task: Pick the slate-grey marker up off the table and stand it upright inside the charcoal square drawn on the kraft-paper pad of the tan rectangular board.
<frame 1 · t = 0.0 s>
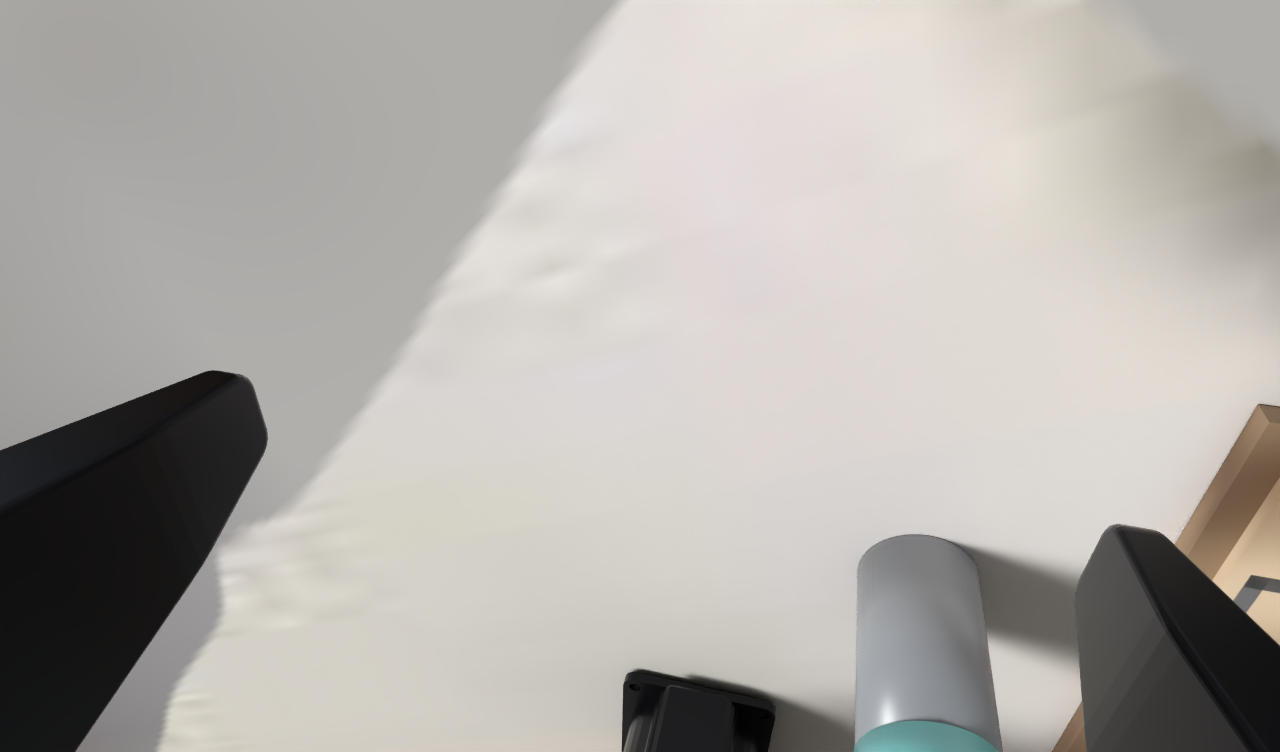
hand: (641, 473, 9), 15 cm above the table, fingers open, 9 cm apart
marker: (916, 575, 29), on the table
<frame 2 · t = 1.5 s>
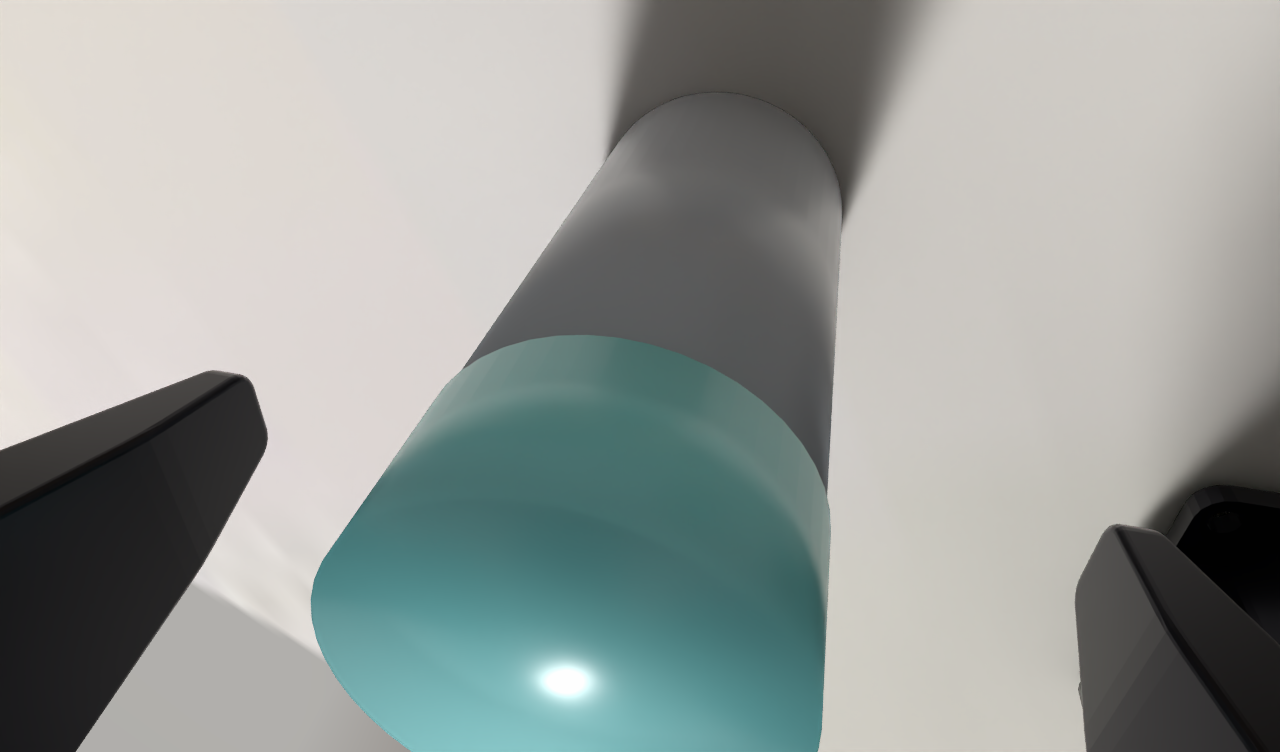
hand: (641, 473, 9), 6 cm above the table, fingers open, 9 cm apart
marker: (717, 214, 14), on the table
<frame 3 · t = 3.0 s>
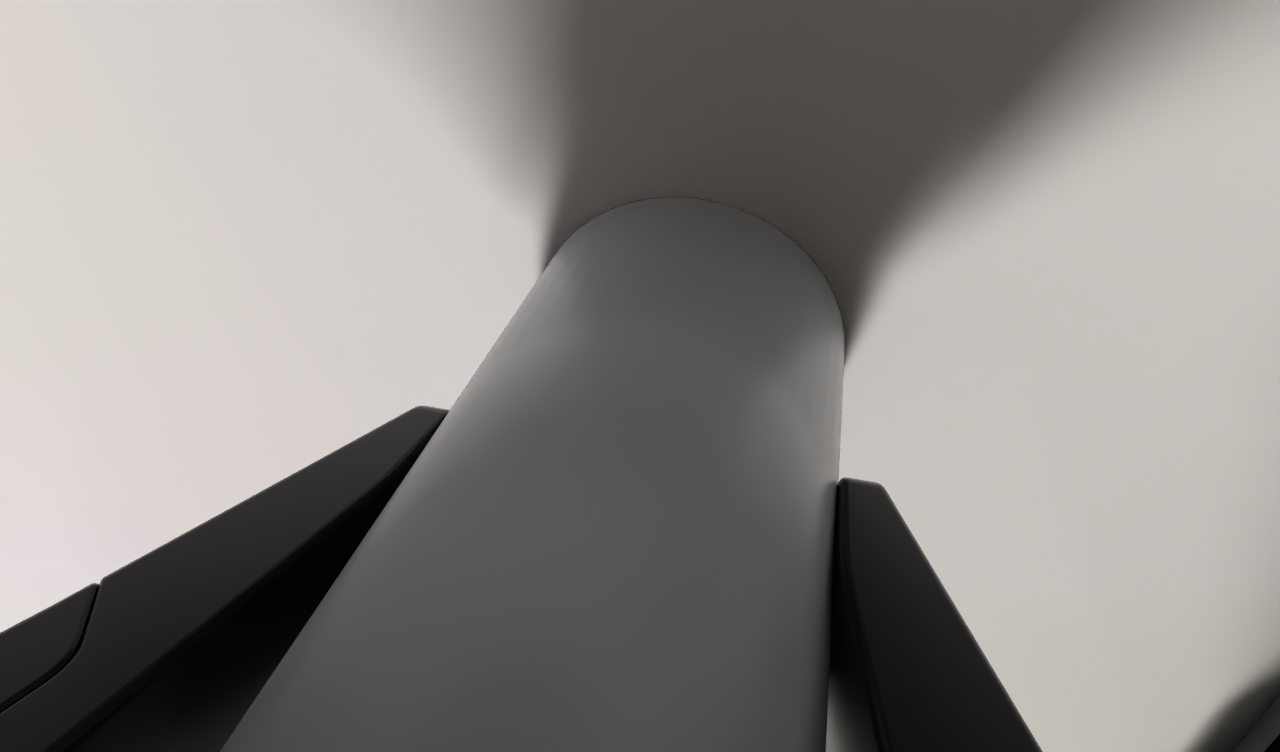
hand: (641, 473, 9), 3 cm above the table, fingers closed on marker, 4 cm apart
marker: (684, 343, 11), on the table, touching gripper
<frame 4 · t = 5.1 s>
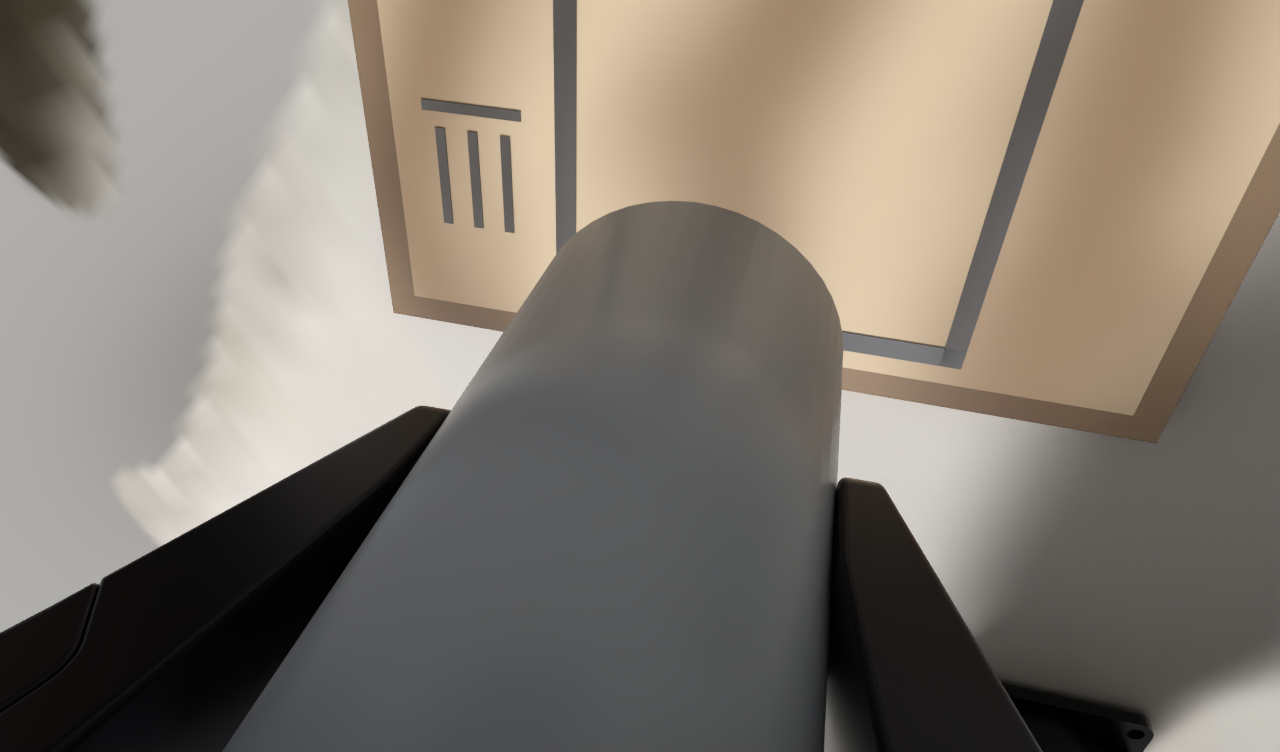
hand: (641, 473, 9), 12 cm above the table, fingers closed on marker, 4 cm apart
tan rectangular board: (796, 46, 18), on the table
marker: (683, 346, 11), point 10 cm above the table, touching gripper
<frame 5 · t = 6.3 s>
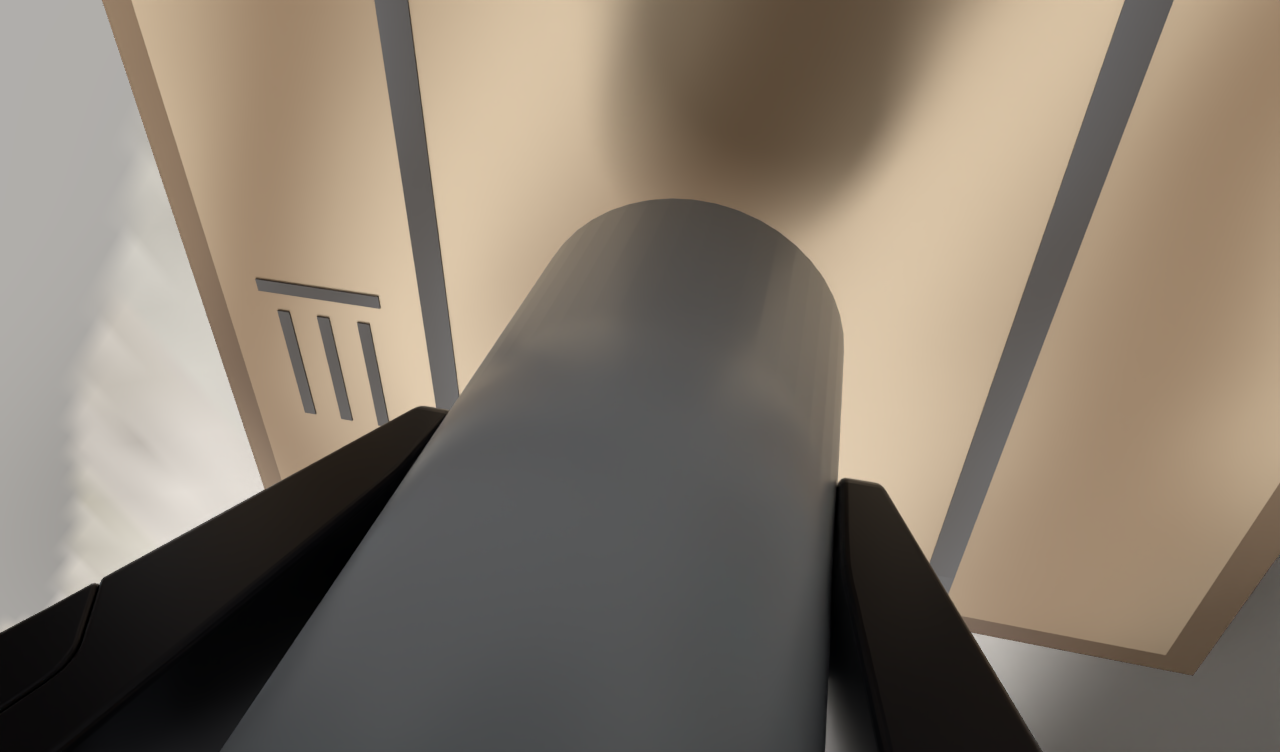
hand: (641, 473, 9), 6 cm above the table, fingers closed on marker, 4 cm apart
tan rectangular board: (724, 217, 14), on the table
marker: (683, 344, 11), point 4 cm above the table, touching gripper
when the fingers open (5 cm above the table, at t = 7.2 s): marker drops 1 cm, resting on tan rectangular board.
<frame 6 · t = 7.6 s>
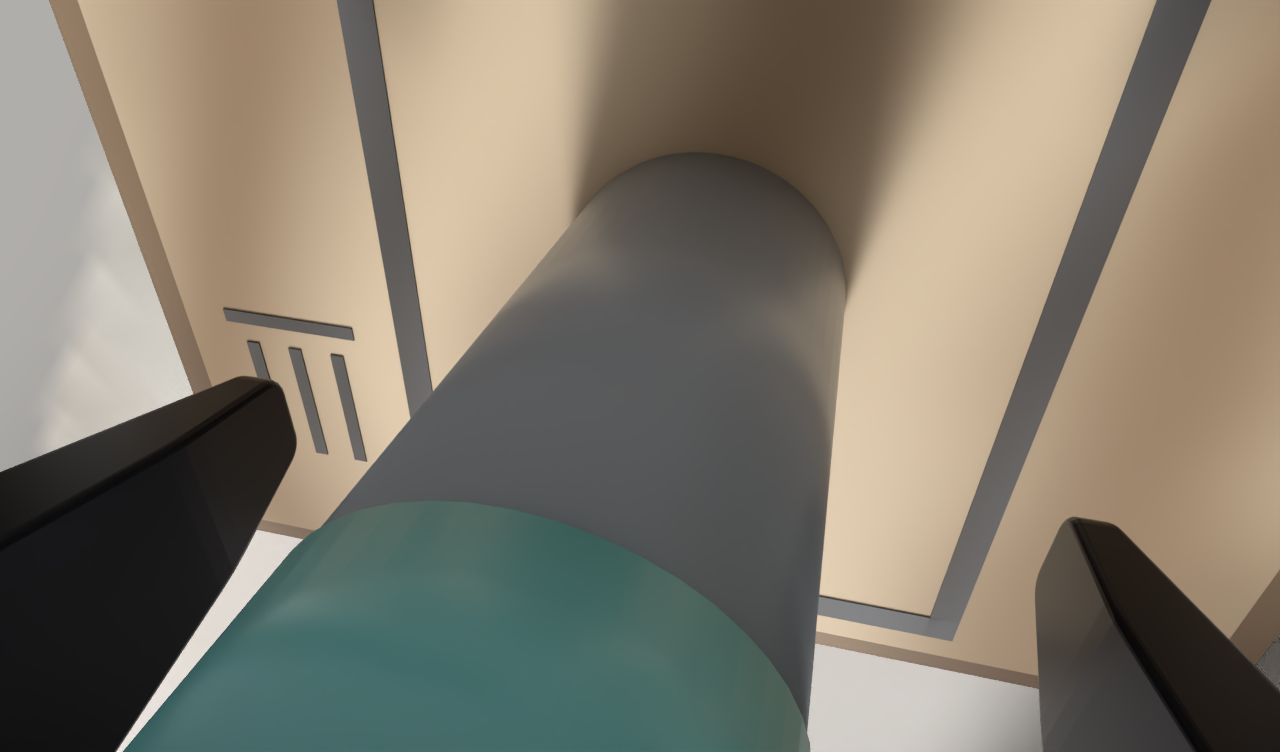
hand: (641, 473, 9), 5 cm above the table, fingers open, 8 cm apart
tan rectangular board: (716, 246, 13), on the table
marker: (701, 291, 12), point 1 cm above the table, touching tan rectangular board
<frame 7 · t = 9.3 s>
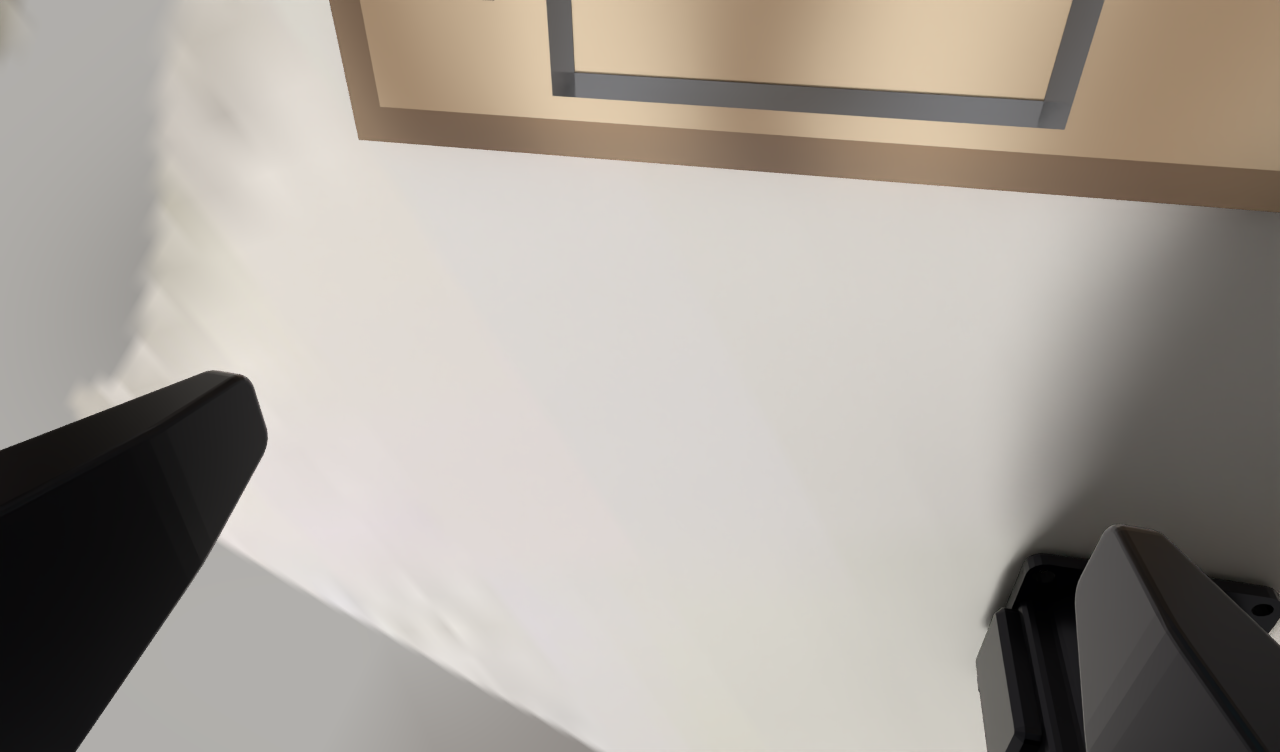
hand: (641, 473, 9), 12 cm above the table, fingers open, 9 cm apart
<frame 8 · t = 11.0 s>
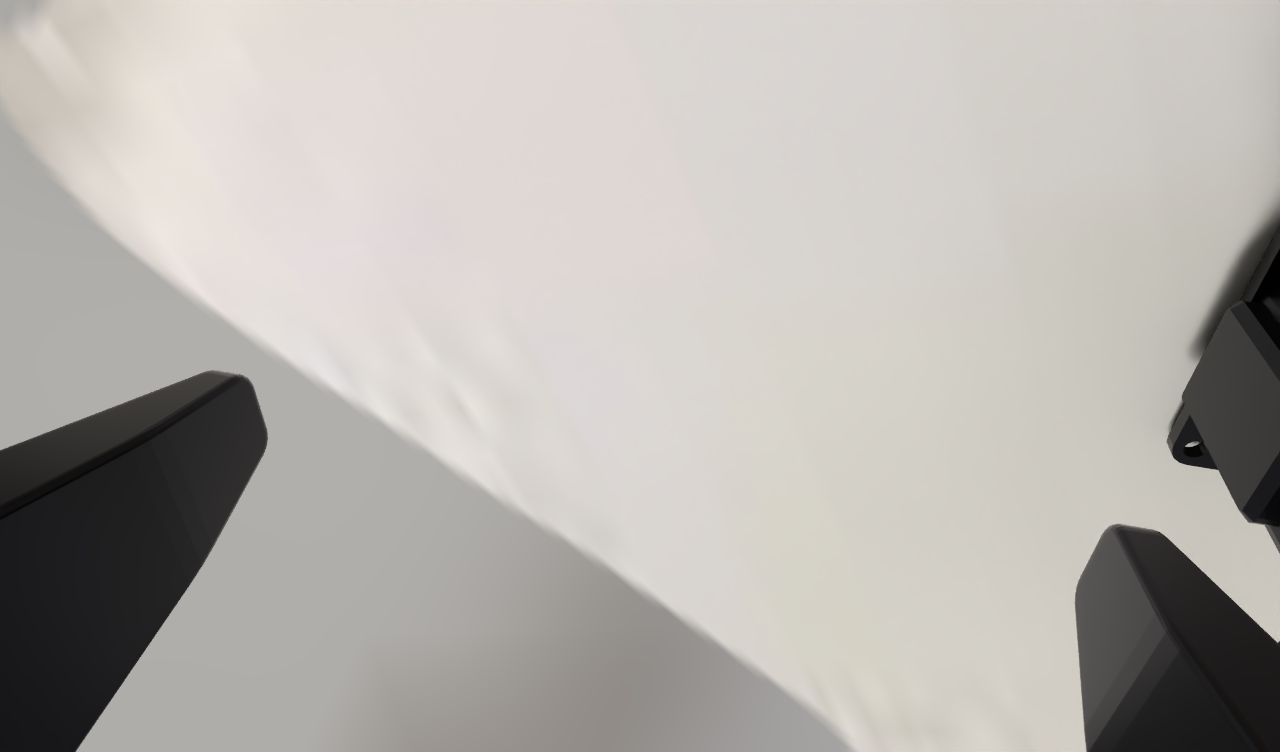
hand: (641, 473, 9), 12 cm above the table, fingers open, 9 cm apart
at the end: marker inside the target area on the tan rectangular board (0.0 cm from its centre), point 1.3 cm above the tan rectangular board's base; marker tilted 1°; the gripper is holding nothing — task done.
